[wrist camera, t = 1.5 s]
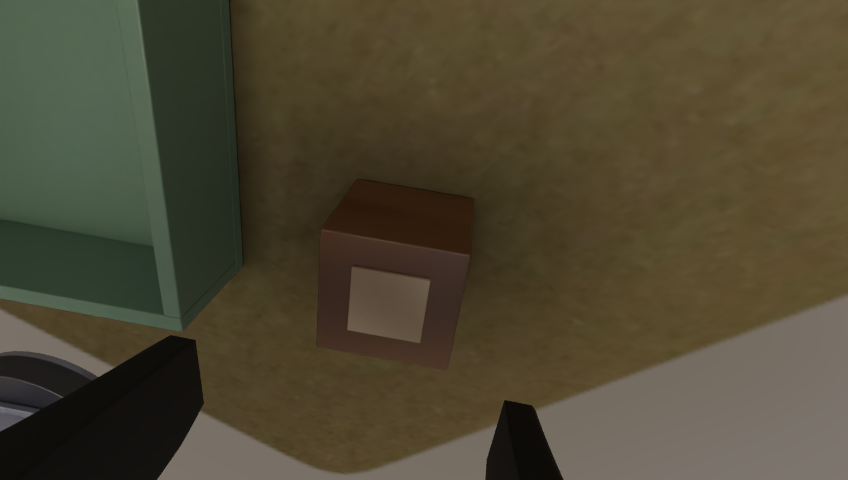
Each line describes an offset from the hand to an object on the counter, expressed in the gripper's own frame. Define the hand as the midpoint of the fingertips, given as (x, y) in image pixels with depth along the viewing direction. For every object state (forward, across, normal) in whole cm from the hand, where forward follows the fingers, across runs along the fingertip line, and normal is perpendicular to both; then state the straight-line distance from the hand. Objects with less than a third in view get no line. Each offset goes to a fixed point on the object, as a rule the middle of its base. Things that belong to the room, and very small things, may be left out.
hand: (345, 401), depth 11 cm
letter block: (+9, 0, 0) cm, 9 cm away
